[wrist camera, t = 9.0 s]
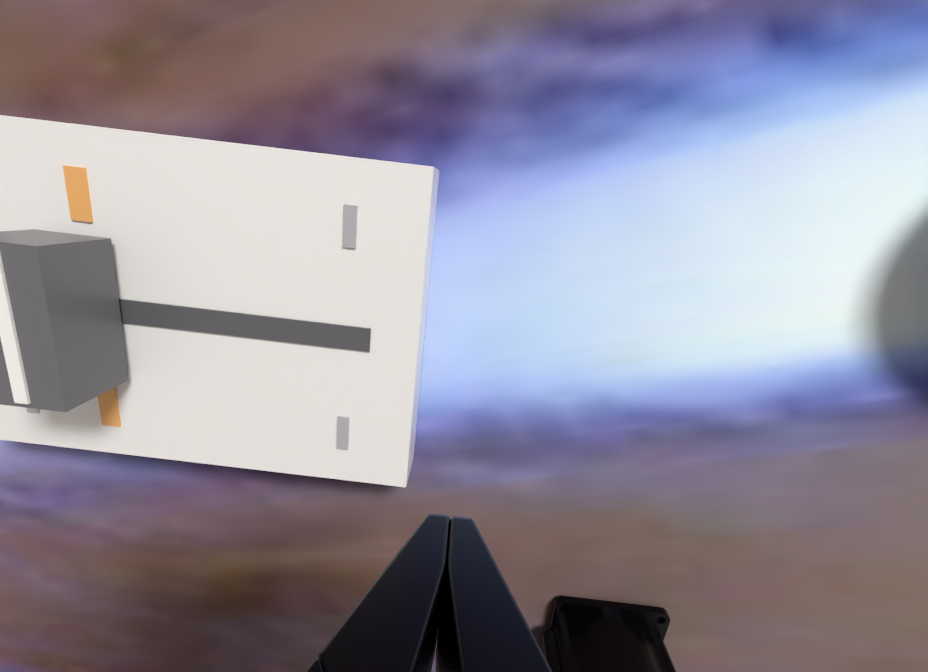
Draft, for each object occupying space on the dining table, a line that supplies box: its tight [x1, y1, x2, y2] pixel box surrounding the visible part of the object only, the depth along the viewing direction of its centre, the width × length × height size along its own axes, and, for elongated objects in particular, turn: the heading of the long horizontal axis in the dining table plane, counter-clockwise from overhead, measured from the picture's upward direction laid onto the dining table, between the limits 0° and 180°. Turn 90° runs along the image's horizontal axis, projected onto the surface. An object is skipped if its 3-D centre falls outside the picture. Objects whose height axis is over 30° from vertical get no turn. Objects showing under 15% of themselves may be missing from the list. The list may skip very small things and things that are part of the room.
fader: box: [0, 229, 129, 412], centre depth 16 cm, size 3×6×3 cm, turn 174°
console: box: [0, 115, 440, 487], centre depth 19 cm, size 20×14×3 cm
